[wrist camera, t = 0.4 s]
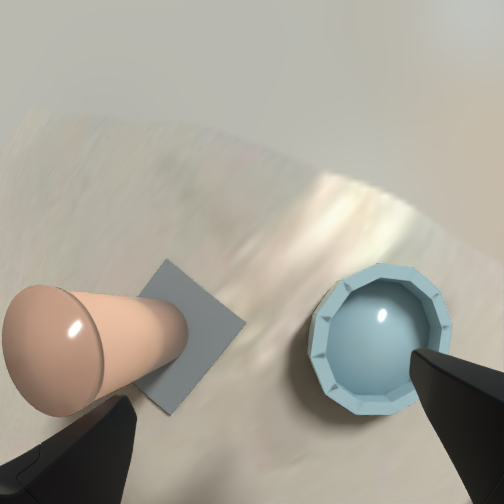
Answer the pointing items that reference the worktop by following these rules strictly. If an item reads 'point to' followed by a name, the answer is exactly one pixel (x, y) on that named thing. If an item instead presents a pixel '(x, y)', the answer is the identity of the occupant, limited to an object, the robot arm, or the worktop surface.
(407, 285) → the bowl
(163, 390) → the mat
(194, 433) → the worktop surface
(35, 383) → the dome-capped peach post
